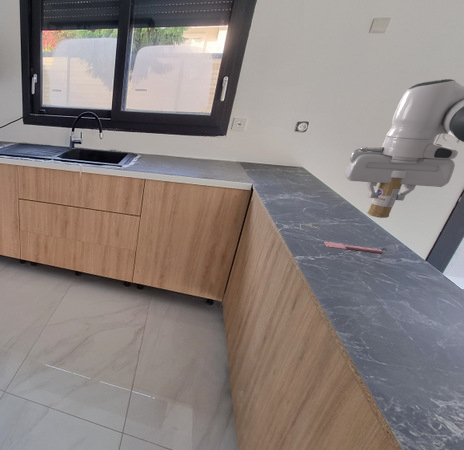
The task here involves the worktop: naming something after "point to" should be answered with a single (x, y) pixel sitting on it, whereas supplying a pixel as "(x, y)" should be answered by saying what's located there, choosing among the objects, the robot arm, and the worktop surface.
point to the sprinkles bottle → (386, 196)
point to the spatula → (351, 247)
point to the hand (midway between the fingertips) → (384, 198)
